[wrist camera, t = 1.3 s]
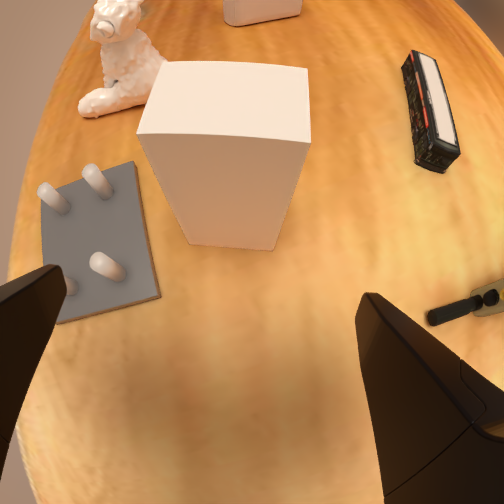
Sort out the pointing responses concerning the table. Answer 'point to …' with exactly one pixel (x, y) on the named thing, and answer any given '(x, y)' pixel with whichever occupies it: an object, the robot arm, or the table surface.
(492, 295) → the handheld radio
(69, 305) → the grey peg board
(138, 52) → the white creature statuette
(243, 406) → the table surface
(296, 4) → the photo printer
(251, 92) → the block
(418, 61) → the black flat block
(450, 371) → the robot arm
